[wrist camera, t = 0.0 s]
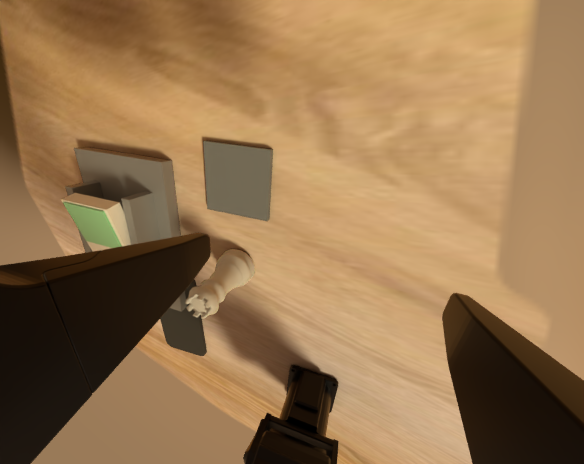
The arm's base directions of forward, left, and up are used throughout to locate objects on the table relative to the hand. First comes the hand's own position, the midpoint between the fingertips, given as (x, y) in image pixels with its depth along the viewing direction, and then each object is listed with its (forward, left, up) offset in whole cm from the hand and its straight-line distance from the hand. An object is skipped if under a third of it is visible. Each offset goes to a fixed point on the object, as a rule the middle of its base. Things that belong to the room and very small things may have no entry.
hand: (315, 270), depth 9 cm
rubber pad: (-1, +11, -15) cm, 18 cm away
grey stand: (-10, +25, -15) cm, 31 cm away
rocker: (-10, +25, -11) cm, 29 cm away
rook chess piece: (-11, +11, -15) cm, 22 cm away
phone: (-23, +21, -15) cm, 34 cm away
